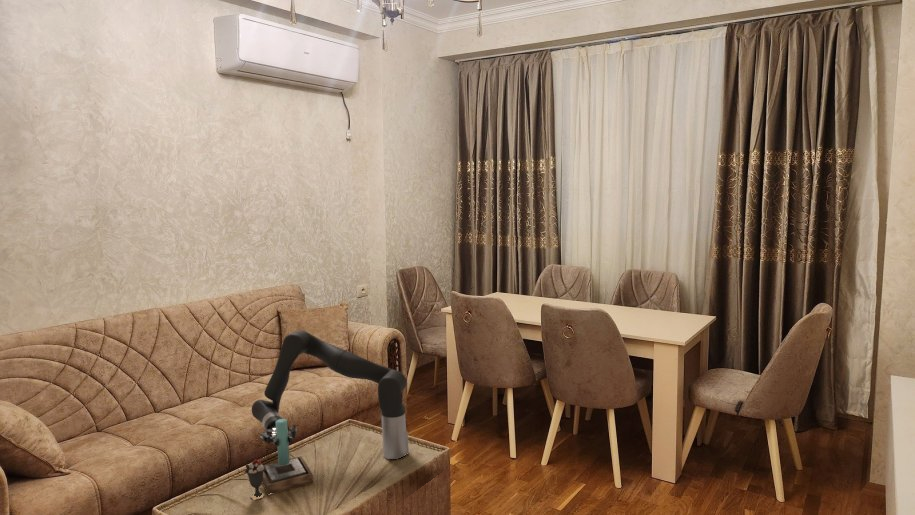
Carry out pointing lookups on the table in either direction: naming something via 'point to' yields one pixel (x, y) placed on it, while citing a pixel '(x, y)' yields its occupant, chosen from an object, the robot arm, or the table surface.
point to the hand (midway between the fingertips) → (284, 442)
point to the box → (290, 482)
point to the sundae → (255, 475)
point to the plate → (284, 471)
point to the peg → (282, 442)
